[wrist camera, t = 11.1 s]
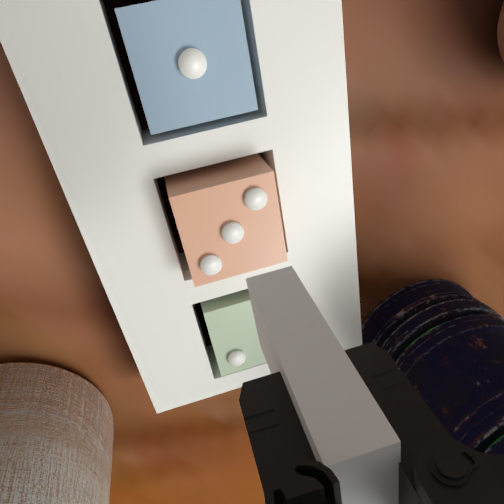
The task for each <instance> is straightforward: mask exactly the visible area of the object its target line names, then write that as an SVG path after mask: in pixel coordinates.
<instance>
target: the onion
mask: <svg viewBox="0 0 504 504" xmlns="http://www.w3.org/2000/svg"><path fill="white" fill-rule="evenodd" d="M497 41H498V47H499V51H500V55H501V57H502V60H503V62H504V2H503V5H502V9H501V12H500V16H499V20H498V26H497Z"/></svg>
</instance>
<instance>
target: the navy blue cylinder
mask: <svg viewBox="0 0 504 504" xmlns="http://www.w3.org/2000/svg"><path fill="white" fill-rule="evenodd" d="M361 330H362V345H363V344H367V343H370V342H372V343H374V344H375V345H377V346H378V347H380V348H382V349H383V350H385V351H386V352H388V353H389V354H390V356H391V357H392V358H393V360H394V361H395V362H396V364H397V365H398V366H399V368H400V370H401V371H402V372H403V373H404V374H405V376H406V377H407V378H408V380H409V382H410V384H412V385H413V386H414V388H415V389H416V390H417V392H418V393H419V394H420V396H421V397H422V398H423V400H424V401H425V402H426V404H427V405H428V407H429V408H430V409H431V411H432V412H433V413H434V415H435V416H436V417H437V419H438V420H439V421H440V423H441V424H442V425H443V427H444V428H445V429H446V431H447V432H448V433H449V434H450V435H451V436H452V437H453V438H454V439H455V440H457V441H458V442H460V443H462V444H464V445H466V446H468V447H470V448H472V449H473V450H475V451H479V452H482V453H487V454H504V319H503V318H502V317H501V316H500V315H499V314H497V313H496V312H495V311H494V310H493V309H491V308H490V307H489V306H487V305H485V304H484V303H481V302H480V301H479V300H477V299H476V298H474V297H473V296H472V295H471V294H470V293H469V292H468V291H466V290H465V289H464V288H463V287H461V286H460V285H458V284H456V283H454V282H451V281H448V280H440V279H436V280H426V281H420V282H417V283H414V284H411V285H408V286H406V287H404V288H402V289H400V290H398V291H396V292H395V293H393V294H392V295H390V296H389V297H387V298H386V299H385V300H384V301H382V302H381V303H380V304H379V305H378V306H377V307H376V308H375V309H374V310H373V311H372V312H371V314H370V315H369V316H368V317H367V319H366V320H365V322H364V324H363V325H362V327H361Z"/></svg>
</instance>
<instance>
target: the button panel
mask: <svg viewBox="0 0 504 504" xmlns="http://www.w3.org/2000/svg"><path fill="white" fill-rule="evenodd" d="M240 1H241V7H242V13H243V19H244V25H245V32H246V38H247V44H248V50H249V56H250V62H251V69H252V75H253V81H254V87H255V93H256V99H257V105H258V110H255V111H251V112H247V113H243V114H238V115H234V116H230V117H226V118H221V119H217V120H213V121H209V122H204V123H200V124H196V125H192V126H187V127H183V128H179V129H175V130H170V131H166V132H162V133H158V134H153V135H151V133H150V130H149V129H145V130H142V129H141V126H140V122H139V119H138V116H137V112H136V109H135V106H134V102H133V99H132V96H131V92H130V89H129V86H128V82H127V79H126V76H125V72H124V69H123V66H122V62H121V59H120V56H119V52H118V49H117V46H116V42H115V39H114V36H113V32H112V29H111V26H110V23H109V19H108V16H107V13H106V9H105V6H104V3H103V0H0V42H1V44H2V47H3V49H4V51H5V54H6V56H7V58H8V61H9V63H10V66H11V68H12V70H13V73H14V75H15V77H16V80H17V82H18V85H19V87H20V89H21V92H22V94H23V96H24V99H25V101H26V104H27V106H28V108H29V111H30V113H31V115H32V118H33V120H34V123H35V125H36V127H37V130H38V132H39V134H40V137H41V139H42V142H43V144H44V146H45V149H46V151H47V153H48V156H49V158H50V161H51V163H52V165H53V168H54V170H55V172H56V175H57V177H58V180H59V182H60V184H61V187H62V189H63V191H64V194H65V196H66V199H67V201H68V203H69V206H70V208H71V210H72V213H73V215H74V218H75V220H76V222H77V225H78V227H79V229H80V232H81V234H82V237H83V239H84V241H85V244H86V246H87V248H88V251H89V253H90V256H91V258H92V260H93V263H94V265H95V267H96V270H97V272H98V275H99V277H100V279H101V282H102V284H103V286H104V289H105V291H106V294H107V296H108V298H109V301H110V303H111V305H112V308H113V310H114V313H115V315H116V317H117V320H118V322H119V324H120V327H121V329H122V332H123V334H124V336H125V339H126V341H127V343H128V346H129V348H130V351H131V353H132V355H133V358H134V360H135V362H136V365H137V367H138V370H139V372H140V374H141V377H142V379H143V381H144V384H145V386H146V389H147V391H148V393H149V396H150V398H151V400H152V403H153V405H154V408H155V410H156V412H157V413H160V412H164V411H167V410H170V409H173V408H176V407H179V406H183V405H186V404H189V403H192V402H195V401H199V400H202V399H205V398H208V397H211V396H214V395H218V394H221V393H224V392H227V391H230V390H234V389H237V388H240V387H242V384H243V383H244V382H247V381H250V380H253V379H257V378H260V377H263V376H266V375H270V374H271V372H270V369H269V367H268V364H267V363H263V364H260V365H257V366H254V367H251V368H247V369H244V370H241V371H238V372H234V373H231V374H228V375H225V376H221V373H220V370H219V366H218V363H217V359H216V356H215V353H214V349H213V346H212V345H209V346H207V345H206V342H205V339H204V335H203V332H202V329H201V325H200V322H199V319H198V315H197V312H196V309H195V305H194V304H196V303H200V302H203V301H207V300H210V299H214V298H217V297H221V296H224V295H227V294H231V293H234V292H238V291H241V290H245V289H248V287H247V283H246V278H249V277H253V276H256V275H260V274H264V273H267V272H271V271H274V270H278V269H282V268H285V267H289V266H292V267H293V269H294V270H295V272H296V273H297V275H298V277H299V278H300V280H301V282H302V283H303V285H304V286H305V288H306V290H307V291H308V293H309V294H310V296H311V298H312V299H313V301H314V302H315V304H316V306H317V307H318V309H319V311H320V312H321V314H322V315H323V317H324V319H325V320H326V322H327V323H328V325H329V327H330V328H331V330H332V331H333V333H334V335H335V336H336V338H337V339H338V341H339V343H340V344H341V346H342V348H343V349H344V350H347V349H350V348H354V347H357V346H360V345H362V330H361V314H360V297H359V281H358V264H357V248H356V232H355V215H354V199H353V182H352V166H351V149H350V133H349V117H348V100H347V84H346V67H345V51H344V35H343V18H342V2H341V0H240ZM256 153H260V157H261V158H262V159H263V160H264V161H265V162H266V163H267V164H268V165H269V166H270V168H271V169H272V170H273V171H274V176H275V182H276V189H277V195H278V202H279V208H280V215H281V221H282V227H283V234H284V240H285V247H286V253H287V260H288V261H286V262H283V263H279V264H275V265H272V266H268V267H265V268H261V269H258V270H254V271H251V272H247V273H243V274H240V275H236V276H233V277H229V278H226V279H222V280H219V281H215V282H212V283H208V284H204V285H201V286H197V287H195V286H194V283H193V280H192V276H191V273H190V269H189V266H188V262H187V259H186V256H185V252H183V253H179V252H178V249H177V245H176V242H175V239H174V235H173V232H172V229H171V225H170V222H169V219H168V215H167V212H166V209H165V205H164V202H163V199H162V195H161V192H160V189H159V186H158V182H157V179H156V178H159V177H163V176H167V175H171V174H175V173H180V172H184V171H188V170H192V169H196V168H200V167H204V166H208V165H212V164H216V163H220V162H224V161H228V160H232V159H236V158H240V157H244V156H248V155H252V154H256Z"/></svg>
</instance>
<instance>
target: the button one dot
mask: <svg viewBox="0 0 504 504" xmlns="http://www.w3.org/2000/svg"><path fill="white" fill-rule="evenodd" d="M114 10H115V13H116V17H117V20H118V23H119V27H120V30H121V34H122V37H123V41H124V44H125V47H126V51H127V54H128V58H129V61H130V65H131V68H132V71H133V75H134V78H135V82H136V85H137V89H138V92H139V95H140V99H141V102H142V106H143V109H144V113H145V116H146V119H147V123H148V126H149V130H150V133H151V135H153V134H158V133H162V132H166V131H170V130H175V129H179V128H183V127H187V126H192V125H196V124H200V123H204V122H209V121H213V120H217V119H221V118H226V117H230V116H234V115H238V114H243V113H247V112H251V111H255V110H258V105H257V99H256V93H255V87H254V81H253V75H252V69H251V62H250V56H249V50H248V44H247V38H246V32H245V25H244V19H243V13H242V7H241V1H240V0H156V1H150V2H145V3H140V4H135V5H130V6H125V7H120V8H115V9H114Z"/></svg>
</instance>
